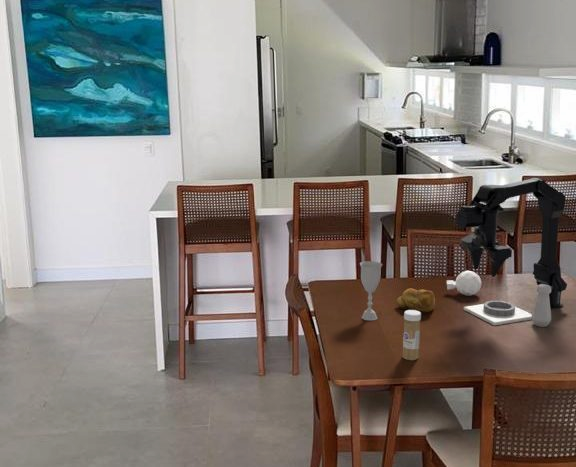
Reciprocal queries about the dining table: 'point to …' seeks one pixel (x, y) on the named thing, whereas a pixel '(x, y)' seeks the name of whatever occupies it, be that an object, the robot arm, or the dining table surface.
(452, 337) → the dining table surface
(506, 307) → the ring holder
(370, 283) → the chalice
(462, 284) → the perfume bottle
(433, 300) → the bread roll
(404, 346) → the sprinkles bottle
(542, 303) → the salt shaker
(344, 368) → the dining table surface
